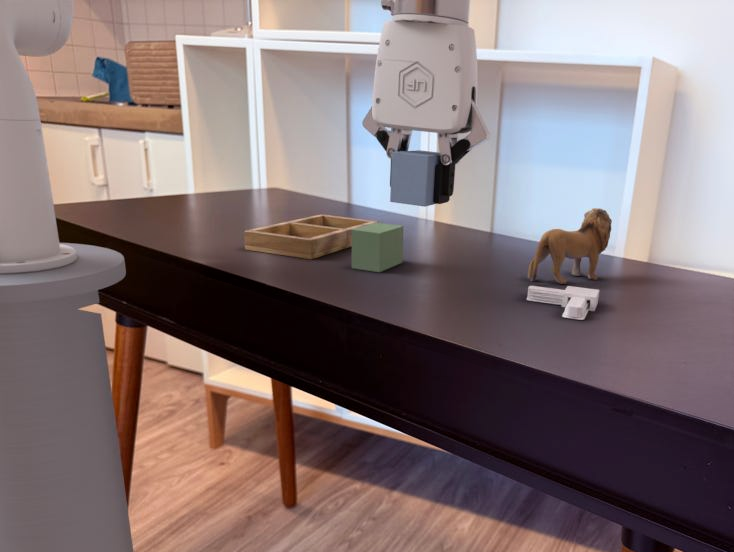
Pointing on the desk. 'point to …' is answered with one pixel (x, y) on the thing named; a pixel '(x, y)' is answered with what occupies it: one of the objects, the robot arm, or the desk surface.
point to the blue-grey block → (413, 177)
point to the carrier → (305, 236)
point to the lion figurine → (574, 245)
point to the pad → (377, 247)
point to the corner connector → (567, 299)
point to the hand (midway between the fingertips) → (421, 198)
